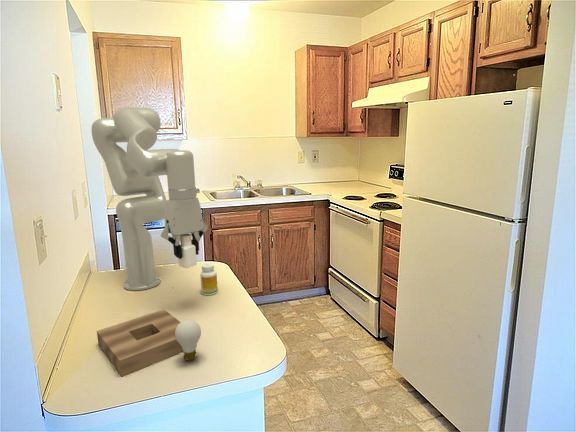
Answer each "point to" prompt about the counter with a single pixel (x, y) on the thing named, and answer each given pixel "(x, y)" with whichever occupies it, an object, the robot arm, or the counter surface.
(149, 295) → the counter surface
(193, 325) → the light bulb
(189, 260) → the pepper shaker
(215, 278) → the supplement bottle
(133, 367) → the socket block
